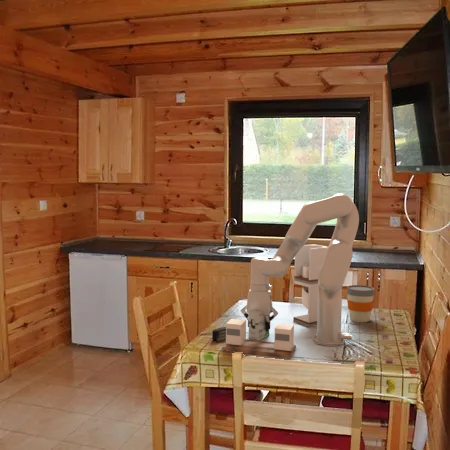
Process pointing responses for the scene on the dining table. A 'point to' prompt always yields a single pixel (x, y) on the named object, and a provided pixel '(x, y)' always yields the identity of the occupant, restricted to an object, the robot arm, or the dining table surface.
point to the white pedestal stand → (309, 280)
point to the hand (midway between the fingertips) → (258, 329)
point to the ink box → (257, 325)
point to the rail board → (260, 349)
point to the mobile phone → (219, 334)
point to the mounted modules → (281, 338)
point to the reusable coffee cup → (360, 302)
